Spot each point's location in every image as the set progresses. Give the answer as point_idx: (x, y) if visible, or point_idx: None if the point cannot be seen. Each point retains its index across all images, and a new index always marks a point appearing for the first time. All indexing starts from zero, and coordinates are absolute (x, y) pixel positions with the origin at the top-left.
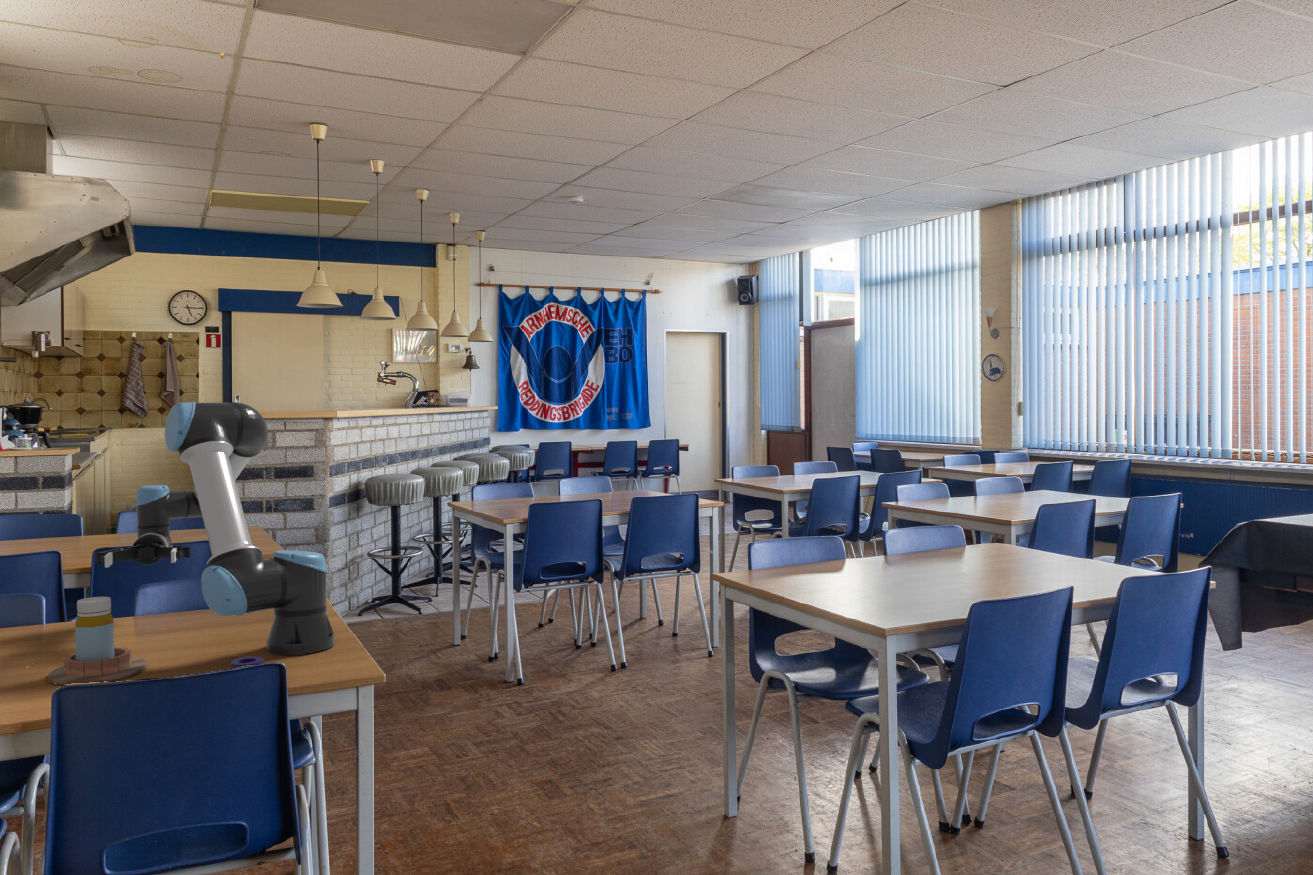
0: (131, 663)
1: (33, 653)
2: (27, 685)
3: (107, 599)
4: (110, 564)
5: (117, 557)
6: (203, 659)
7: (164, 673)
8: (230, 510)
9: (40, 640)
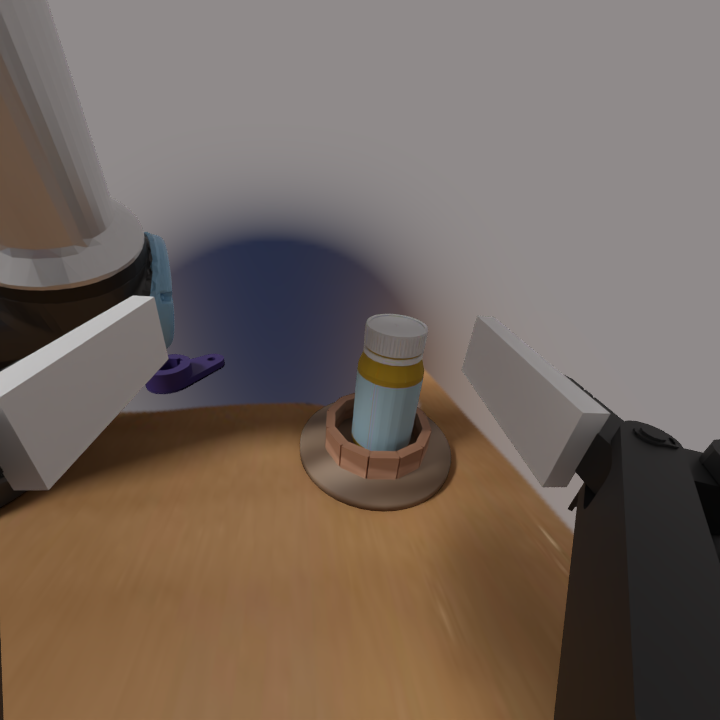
0: (325, 447)
1: None
2: (457, 425)
3: (369, 319)
4: (491, 404)
5: (590, 539)
6: (194, 461)
7: (273, 413)
8: None
9: None
